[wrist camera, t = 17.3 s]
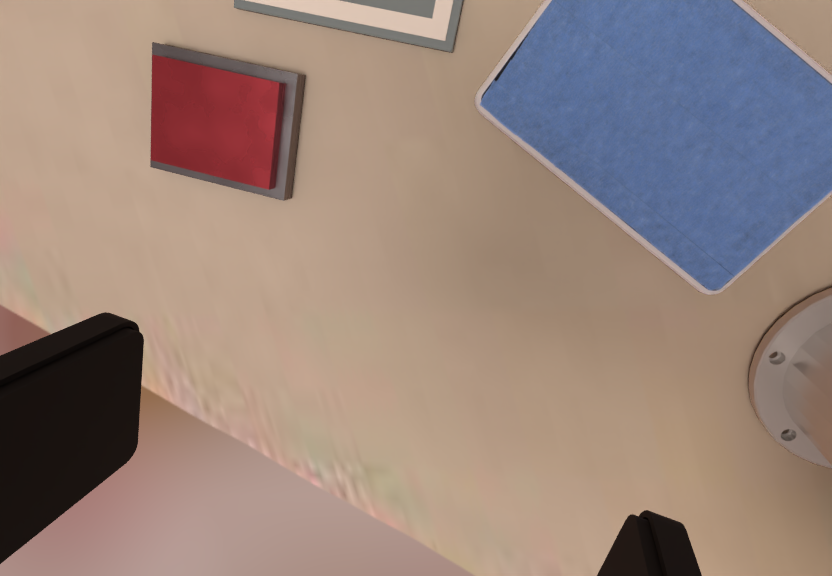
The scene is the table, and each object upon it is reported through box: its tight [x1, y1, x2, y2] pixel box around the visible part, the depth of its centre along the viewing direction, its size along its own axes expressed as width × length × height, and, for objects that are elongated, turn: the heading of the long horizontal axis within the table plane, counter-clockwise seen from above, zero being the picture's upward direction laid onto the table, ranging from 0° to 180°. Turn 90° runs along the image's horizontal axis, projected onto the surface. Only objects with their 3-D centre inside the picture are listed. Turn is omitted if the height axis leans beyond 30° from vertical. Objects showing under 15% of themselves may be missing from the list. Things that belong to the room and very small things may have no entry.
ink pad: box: [151, 42, 306, 201], centre depth 33 cm, size 10×8×2 cm
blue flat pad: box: [474, 0, 832, 295], centre depth 29 cm, size 19×13×1 cm, turn 53°
